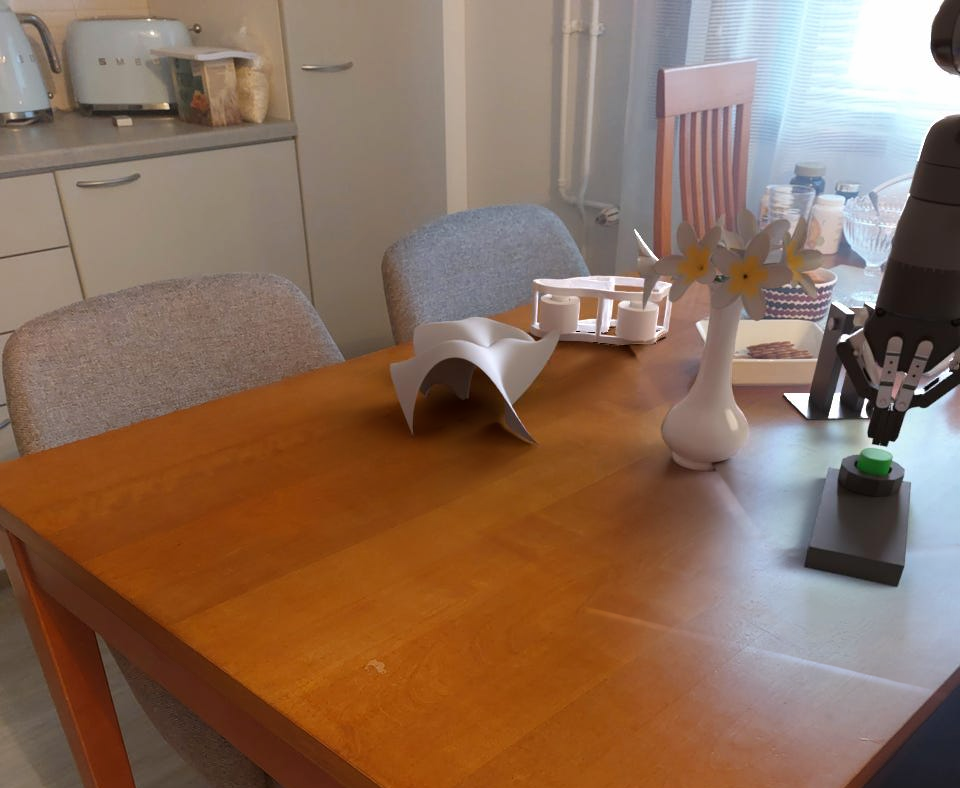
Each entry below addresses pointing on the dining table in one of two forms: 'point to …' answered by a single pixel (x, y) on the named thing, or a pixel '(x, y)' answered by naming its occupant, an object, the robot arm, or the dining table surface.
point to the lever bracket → (832, 375)
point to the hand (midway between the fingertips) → (880, 442)
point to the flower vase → (724, 321)
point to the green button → (874, 461)
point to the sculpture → (472, 362)
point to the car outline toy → (598, 310)
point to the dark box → (861, 524)
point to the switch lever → (866, 352)
